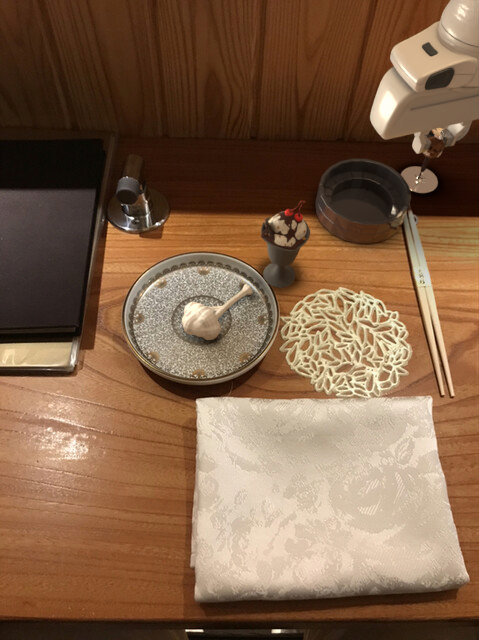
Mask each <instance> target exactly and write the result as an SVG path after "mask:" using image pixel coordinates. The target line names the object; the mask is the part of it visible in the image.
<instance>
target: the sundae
mask: <svg viewBox="0 0 479 640" xmlns="http://www.w3.org/2000/svg"><path fill="white" fill-rule="evenodd" d="M303 204H306V200H300V201H299V203H298V204H297V206H296V207H294V208H292V209H291V208H286V209H285V211H280V212H278V213H275V214H273V215H270V216H267V217H266V218H264V219H263V222H262V224H261V229H260V238H261V239H262V240H263V241H264V242H265V243H266V249H267V255H268V258H269V260H270V261H269V262H271V263H269V264H267V265H266V266H265V268H263V269H264V270H263V273H262V276H263V279H264V281H265V280H266V281H267V282H266V281H265V282H266V283H267V284H268V285H270V287H271V286H272V287H274V288H279V289H282V288H287V287H290V286H291V285H292V284H293V282H294V281H295V279H296V272H295V270H294V268H293V267H292V266H290V265H291V264H293V263H294V262H295V260H296V259H297V257H298V254H299V252H300V250H301V248H302V247H303V246H305V245H306V243H307V242H308V241H309V239H310V237H311V229H310V227H309V225H308V223H307V221H306V220H305V219H304V216H303V214H301V208H302V206H303ZM298 208H299V209H298ZM296 209H298V212H296V213H294V211H295V210H296Z"/></svg>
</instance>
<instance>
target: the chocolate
mask: <svg viewBox="0 0 479 640" xmlns="http://www.w3.org/2000/svg"><path fill="white" fill-rule="evenodd" d="M433 131H434V133H435V130H433ZM437 133H439V132H437V131H436V134H437ZM436 134H435V137H429V138H428V139H429V140H430V141H431V142H432V143H431V145H430V147H429V150H428V151H427V152H423V153H422V154H423V155H424V156H425V157H428V158H430V159H436V158H439V157H440V156H441V155H442V153H443V151H444V149H445V147H444V143H443V141H442V140H441V139H442V138H443V137H441V138H440V137H438V136H440V135H441V136H442V135H443V134H440V135H438V134H437V135H436ZM444 135H445V134H444ZM444 137H445V136H444Z"/></svg>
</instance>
